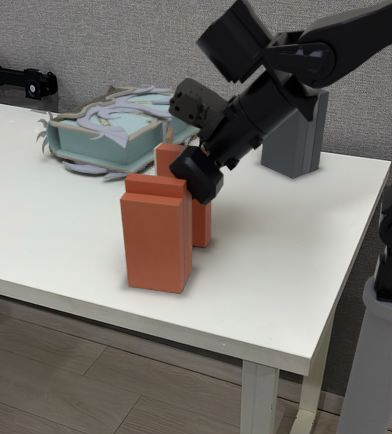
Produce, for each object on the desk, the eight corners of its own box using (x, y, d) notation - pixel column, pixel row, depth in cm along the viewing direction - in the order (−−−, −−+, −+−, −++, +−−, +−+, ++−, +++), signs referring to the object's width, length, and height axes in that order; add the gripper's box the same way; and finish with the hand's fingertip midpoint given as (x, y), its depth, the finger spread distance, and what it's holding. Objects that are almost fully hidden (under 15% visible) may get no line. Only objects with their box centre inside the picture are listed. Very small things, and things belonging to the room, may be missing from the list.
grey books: (318, 169, 99) (330, 84, 90) (292, 178, 96) (302, 92, 87) (286, 155, 104) (294, 74, 95) (260, 164, 101) (266, 81, 92)
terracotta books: (192, 269, 75) (191, 171, 66) (181, 294, 70) (178, 192, 61) (142, 262, 76) (135, 165, 67) (128, 286, 72) (118, 186, 63)
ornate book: (122, 121, 121) (26, 166, 100) (118, 73, 115) (15, 110, 94) (214, 139, 112) (130, 192, 92) (216, 88, 106) (127, 132, 86)
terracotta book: (211, 240, 80) (212, 148, 72) (205, 247, 78) (205, 155, 70) (165, 232, 82) (161, 142, 74) (158, 239, 80) (153, 148, 72)
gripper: (230, 37, 70) (154, 119, 80) (183, 82, 57) (99, 173, 67) (287, 108, 74) (207, 178, 84) (255, 165, 60) (164, 240, 70)
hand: (172, 190), depth 76 cm, fingers open, 7 cm apart
